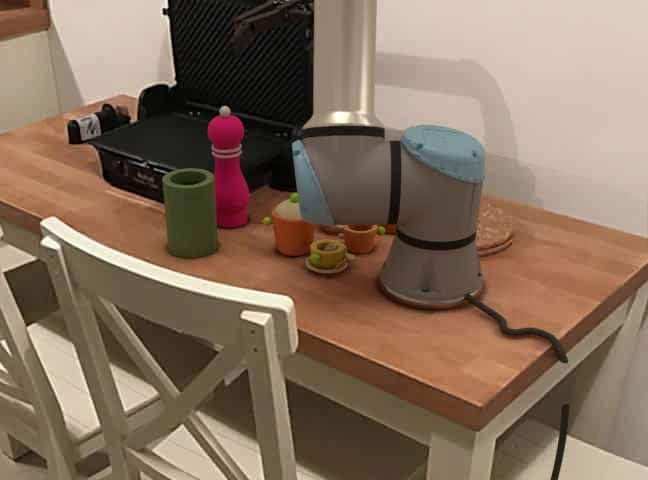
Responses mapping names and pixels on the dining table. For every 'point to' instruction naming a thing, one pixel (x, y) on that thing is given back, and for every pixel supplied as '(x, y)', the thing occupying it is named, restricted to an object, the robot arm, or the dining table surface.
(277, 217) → the toy tea set
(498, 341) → the dining table surface
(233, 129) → the pepper mill
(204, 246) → the green cylindrical container
